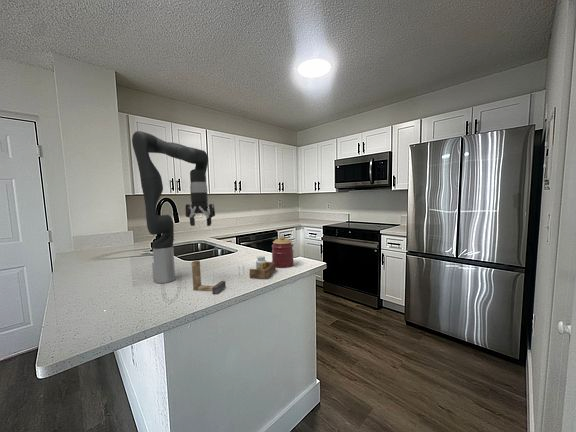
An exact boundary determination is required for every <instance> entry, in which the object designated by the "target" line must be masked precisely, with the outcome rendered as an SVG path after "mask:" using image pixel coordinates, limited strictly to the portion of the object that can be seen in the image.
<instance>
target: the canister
mask: <svg viewBox="0 0 576 432" xmlns="http://www.w3.org/2000/svg"><path fill="white" fill-rule="evenodd" d="M272 243H273V244H272V245H271V249H272V251H271V256H272V257H271V260H272V261H271V262H276V268H278V269H284V268H285V269H286V268H291V267H292V266H294V249H293V247H294V244H292V240H290V238H285V236H284V235H280V237H279V238H276V239H275V240H273V241H272Z"/></svg>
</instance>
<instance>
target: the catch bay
mask: <svg viewBox="0 0 576 432" xmlns="http://www.w3.org/2000/svg"><path fill="white" fill-rule="evenodd" d="M276 270H277V267H276V262H272V261H266V269H256V268H249V279H253V280H254V279H256V280H257V279H258V280H269V279H270V277H271V276H272V275H273V274H274V272H276Z"/></svg>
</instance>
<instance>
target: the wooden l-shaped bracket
mask: <svg viewBox="0 0 576 432" xmlns="http://www.w3.org/2000/svg"><path fill="white" fill-rule="evenodd" d="M191 272H192V276H191V277H192V288H193V289H192V290H193V291H200V292H201V291H202V292H203V291H204V292H212V295H218V294H219V293H221V292H222V291H223V290H224V289H226V280H221V281H219V282H218V283H217V284H215V285H206V284H205V285H204V284H203V285H202V277H201V275H202V274H201V261H200V260H192V261H191Z"/></svg>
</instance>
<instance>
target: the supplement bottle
mask: <svg viewBox="0 0 576 432" xmlns="http://www.w3.org/2000/svg"><path fill="white" fill-rule="evenodd" d="M256 258H257V260H256V263H255V265H256V266H255V267H256V268H255V269H266V262H267V260H266V256H265V255H258V256H257V257H256Z"/></svg>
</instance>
